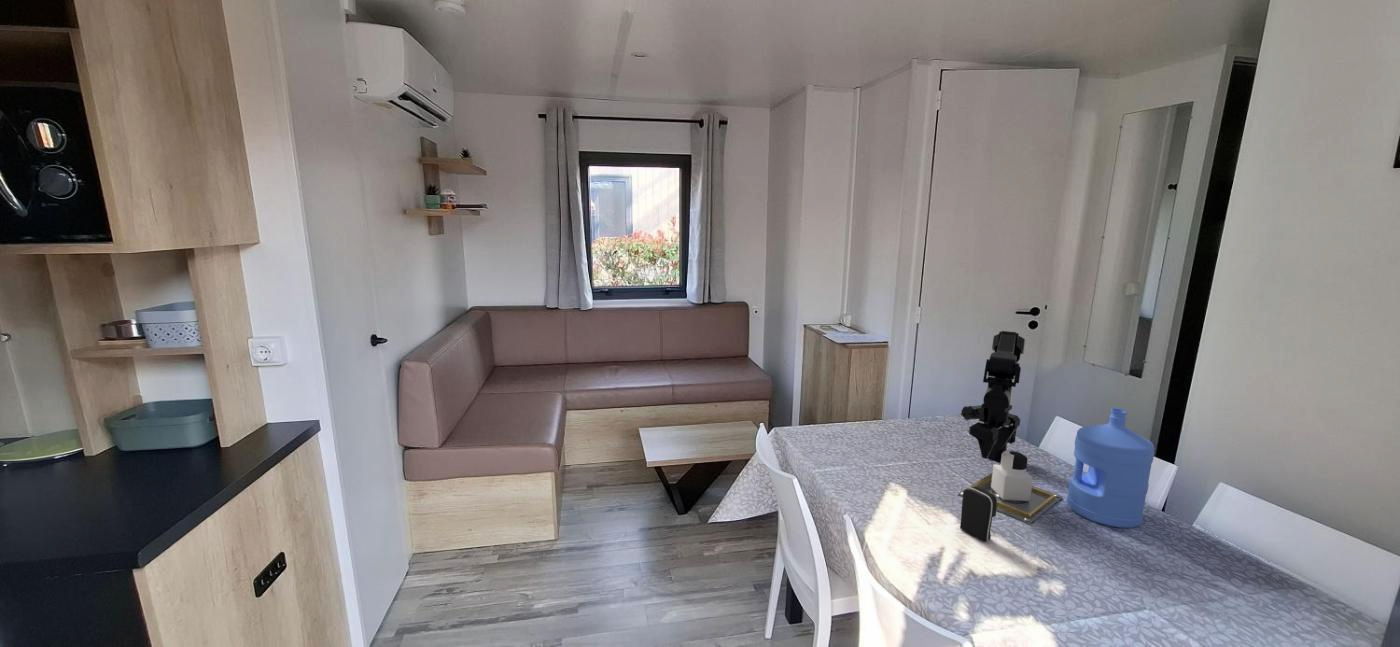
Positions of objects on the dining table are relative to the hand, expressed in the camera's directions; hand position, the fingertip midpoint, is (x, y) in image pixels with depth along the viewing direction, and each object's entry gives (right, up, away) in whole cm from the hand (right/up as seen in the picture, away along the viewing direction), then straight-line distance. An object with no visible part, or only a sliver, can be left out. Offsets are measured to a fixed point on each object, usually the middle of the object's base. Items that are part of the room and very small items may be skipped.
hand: (991, 453), depth 142 cm
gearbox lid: (+3, -11, -3) cm, 12 cm away
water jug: (+23, -13, -10) cm, 28 cm away
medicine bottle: (+3, -11, -3) cm, 12 cm away
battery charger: (-16, -14, -21) cm, 30 cm away
